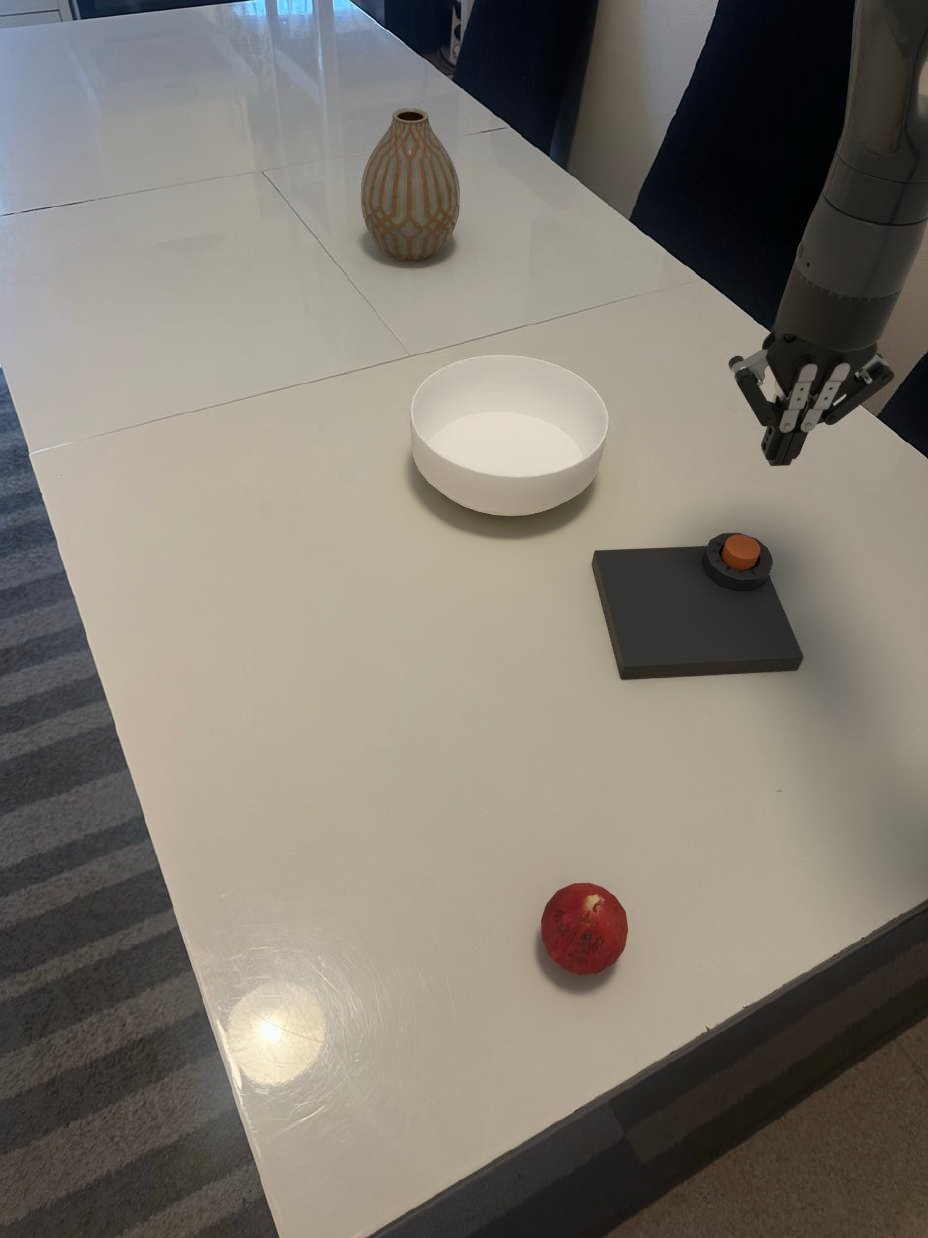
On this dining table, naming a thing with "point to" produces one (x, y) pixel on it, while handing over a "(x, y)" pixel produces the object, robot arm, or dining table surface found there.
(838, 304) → the robot arm
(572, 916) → the pomegranate
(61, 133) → the dining table surface
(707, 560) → the scale
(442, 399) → the bowl
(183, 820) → the dining table surface
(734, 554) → the button
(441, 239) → the vase
